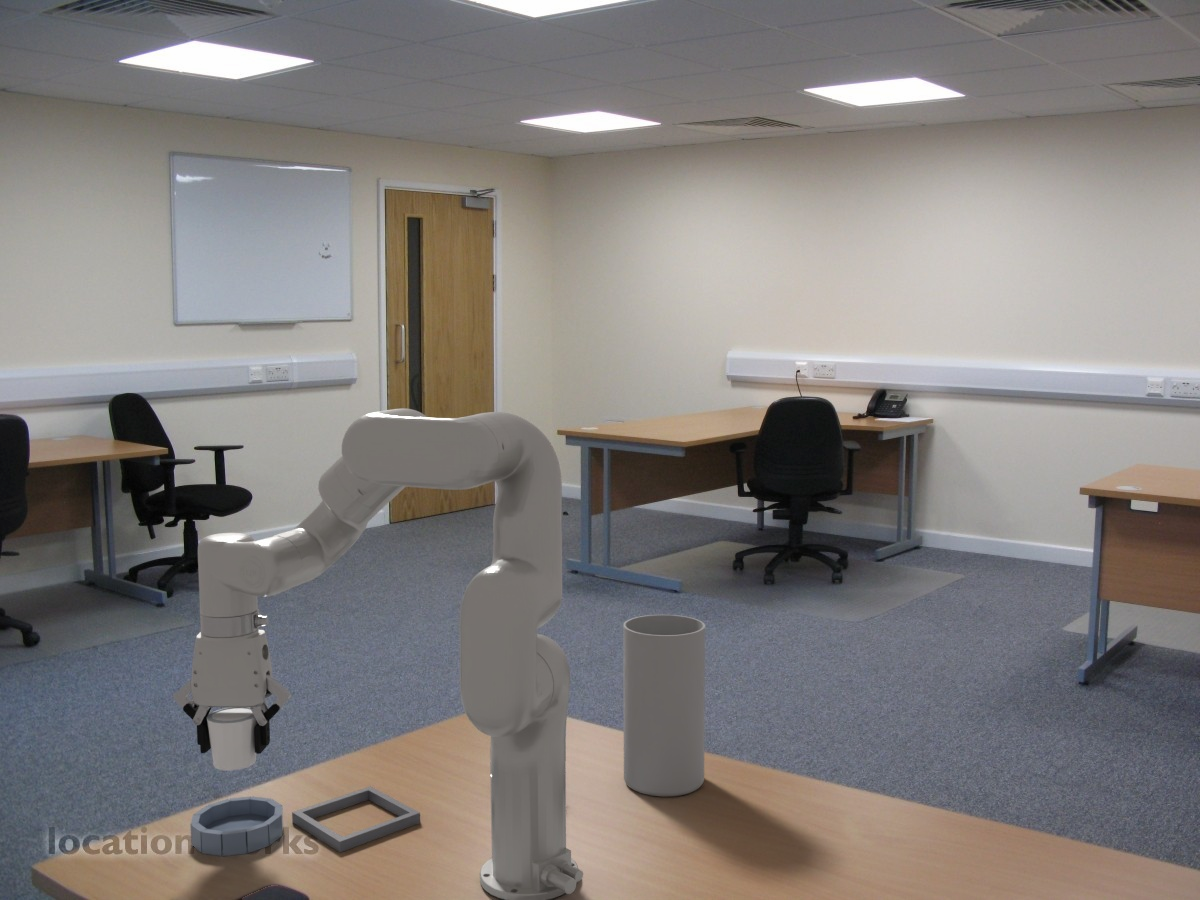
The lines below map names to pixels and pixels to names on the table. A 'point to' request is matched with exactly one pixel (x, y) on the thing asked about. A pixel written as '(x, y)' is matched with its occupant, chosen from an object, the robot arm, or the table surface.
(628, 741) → the cylinder vase
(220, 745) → the white cup
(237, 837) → the bowl
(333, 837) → the grey square frame
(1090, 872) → the table surface
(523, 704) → the robot arm
